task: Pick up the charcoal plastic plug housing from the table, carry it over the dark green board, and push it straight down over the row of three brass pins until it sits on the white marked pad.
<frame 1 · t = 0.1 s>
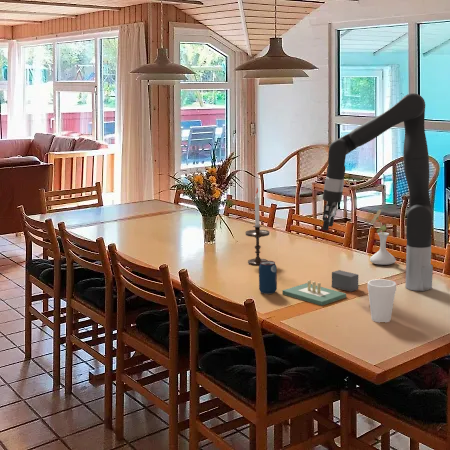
hand: (327, 228, 274), 22 cm above the table, tool pointing down, fingers open, 8 cm apart
plug housing: (344, 288, 268), on the table
candlestick: (257, 263, 310), on the table
pin board: (314, 295, 260), on the table
foam cup: (380, 320, 232), on the table
soda can: (268, 292, 266), on the table
flower in vase: (381, 264, 303), on the table
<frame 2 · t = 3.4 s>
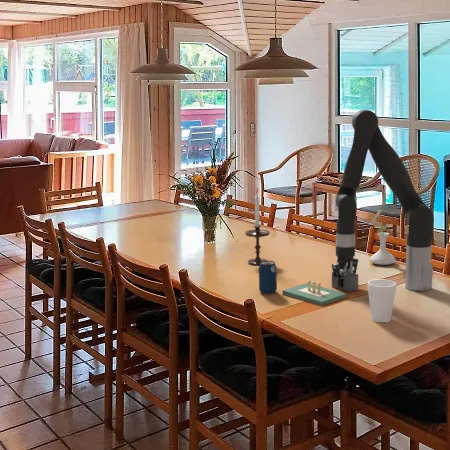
hand: (344, 286, 268), 1 cm above the table, tool pointing down, fingers closed on plug housing, 4 cm apart
plug housing: (344, 288, 268), on the table, touching gripper
everything else where it was.
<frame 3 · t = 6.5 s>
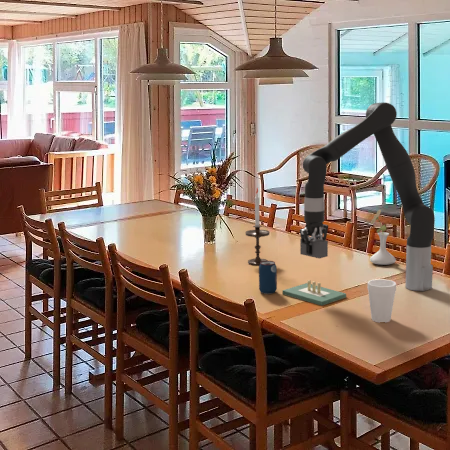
hand: (314, 253, 256), 17 cm above the table, tool pointing down, fingers closed on plug housing, 4 cm apart
plug housing: (313, 255, 256), point 16 cm above the table, touching gripper
everything else where it was.
when the fingers open (2 cm above the table, at t = 9.8 s): plug housing stays where it is, resting on pin board.
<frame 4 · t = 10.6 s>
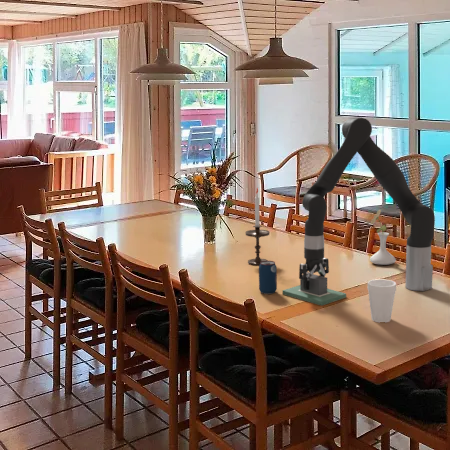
hand: (314, 287, 259), 3 cm above the table, tool pointing down, fingers open, 8 cm apart
plug housing: (313, 291, 259), point 2 cm above the table, touching pin board
everything else where it was.
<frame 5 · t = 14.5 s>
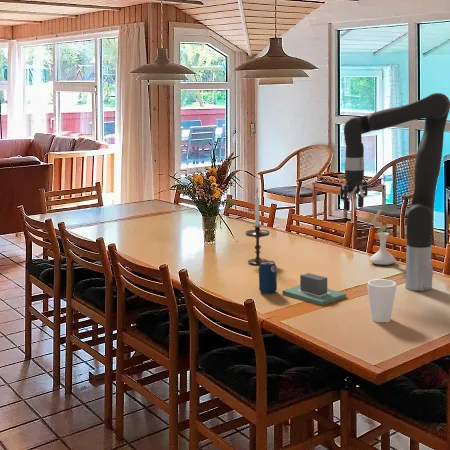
hand: (353, 208, 272), 30 cm above the table, tool pointing down, fingers open, 8 cm apart
nothing on the table moved.
at the end: plug housing 0.1 cm off-centre on the pin board, point 1.6 cm above the pin board's base; plug housing tilted 0°; the gripper is holding nothing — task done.
